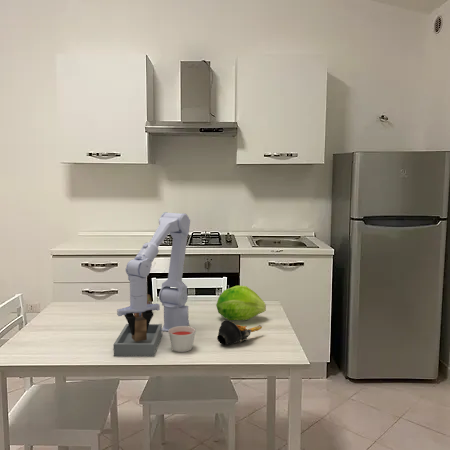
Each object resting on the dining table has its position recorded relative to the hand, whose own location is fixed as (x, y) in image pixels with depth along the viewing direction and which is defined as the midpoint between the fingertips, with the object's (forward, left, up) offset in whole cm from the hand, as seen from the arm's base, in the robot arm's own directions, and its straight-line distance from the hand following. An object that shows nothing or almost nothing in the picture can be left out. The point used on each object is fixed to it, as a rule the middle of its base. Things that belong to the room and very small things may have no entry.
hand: (139, 333), depth 162 cm
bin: (0, 0, -4) cm, 4 cm away
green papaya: (-36, -28, -4) cm, 46 cm away
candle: (-15, +3, -4) cm, 16 cm away
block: (0, 0, -2) cm, 2 cm away
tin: (+4, -31, -4) cm, 32 cm away
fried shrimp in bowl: (-35, -4, -4) cm, 36 cm away
